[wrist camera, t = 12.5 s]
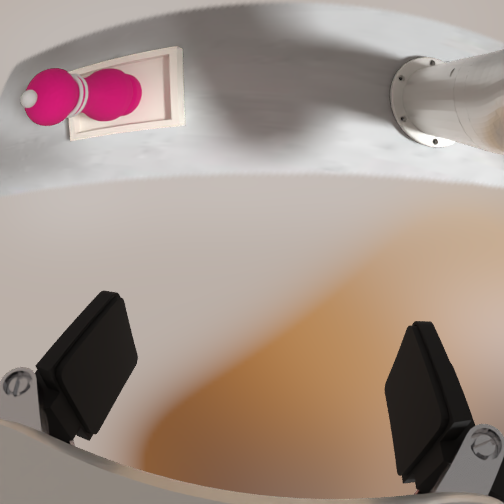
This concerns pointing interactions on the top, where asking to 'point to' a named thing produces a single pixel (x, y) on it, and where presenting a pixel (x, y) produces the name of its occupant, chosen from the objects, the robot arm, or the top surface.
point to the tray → (153, 94)
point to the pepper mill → (80, 95)
